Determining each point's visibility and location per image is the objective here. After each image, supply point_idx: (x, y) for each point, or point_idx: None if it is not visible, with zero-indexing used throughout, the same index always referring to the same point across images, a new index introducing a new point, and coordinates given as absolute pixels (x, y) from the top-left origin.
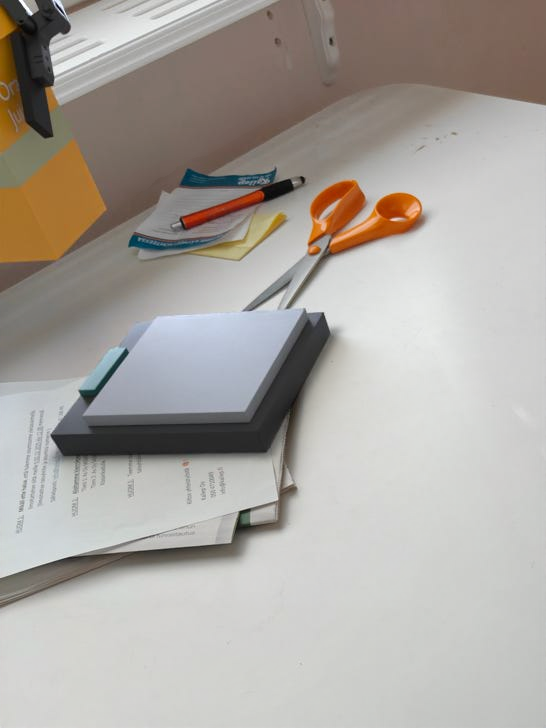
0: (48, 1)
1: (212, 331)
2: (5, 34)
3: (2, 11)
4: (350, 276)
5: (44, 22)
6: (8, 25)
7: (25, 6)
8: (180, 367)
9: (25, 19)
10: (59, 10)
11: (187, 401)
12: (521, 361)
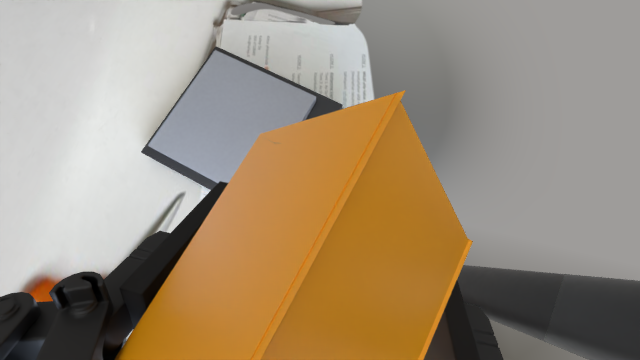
0: None
1: (216, 151)
2: (152, 301)
3: None
4: (111, 231)
5: (52, 308)
6: (129, 341)
7: None
8: (245, 117)
9: (74, 276)
10: None
11: (246, 76)
12: (68, 67)
